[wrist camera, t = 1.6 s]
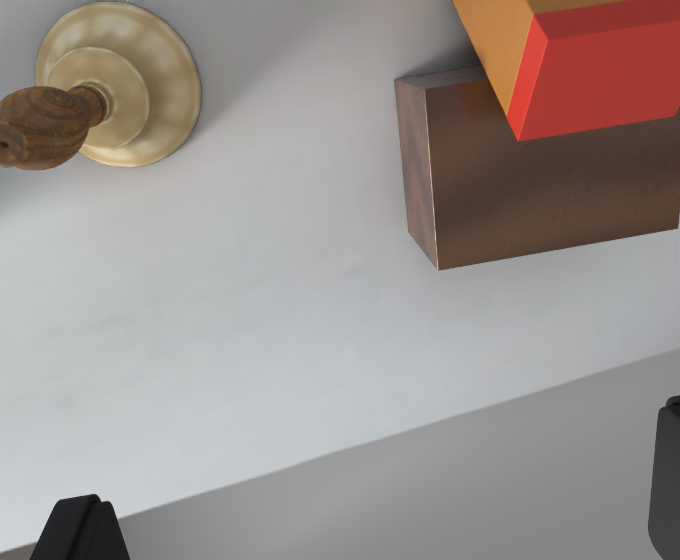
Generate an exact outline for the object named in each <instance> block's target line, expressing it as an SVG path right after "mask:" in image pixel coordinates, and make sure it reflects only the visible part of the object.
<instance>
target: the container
mask: <svg viewBox="0 0 680 560" xmlns="http://www.w3.org/2000/svg"><path fill="white" fill-rule="evenodd" d="M452 1H453V3H454V6H455V8H456V10H457V12H458V14H459V16H460V18H461V20H462V23H463V25H464V27H465V29H466V31H467V33H468V35H469V38H470V40H471V42H472V44H473V46H474V48H475V50H476V53H477V55H478V57H479V59H480V61H481V63H482V65H483V68H484V70H485V72H486V74H487V76H488V78H489V80H490V82H491V85H492V87H493V89H494V91H495V93H496V95H497V97H498V100H499V102H500V104H501V106H502V108H503V110H504V112H505V115H506V116H507V120H508V122H509V124H510V126H511V128H512V130H513V133H514V135H515V137H516V139H517V141H524V140H530V139H537V138H543V137H549V136H555V135H561V134H567V133H574V132H580V131H586V130H592V129H598V128H605V127H611V126H617V125H623V124H629V123H635V122H642V121H648V120H654V119H660V118H666V117H672V116H675V114H676V112H677V110H678V109H679V107H680V0H452Z"/></svg>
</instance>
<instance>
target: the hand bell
mask: <svg viewBox="0 0 680 560" xmlns="http://www.w3.org/2000/svg"><path fill="white" fill-rule="evenodd" d="M35 84H36V86H35V87H30V88H25V89H22V90H18V91H16V92H14V93H12V94H10V95H8V96H6V97H5V98H4V99H3V100H1V102H0V166H2V167H16V168H19V169H23V170H46V169H50V168H54V167H56V166H58V165H61V164H62V163H64V162H66V161H67V160H69V159H70V158H72V157H73V156H74V155H75V154H76V153H77V152H79V153H81V154H82V155H84V156H86V157H88V158H90V159H92V160H94V161H97V162H100V163H103V164H107V165H111V166H115V167H140V166H145V165H149V164H153V163H156V162H158V161H160V160H162V159H165V158H166V157H168V156H169V155H171V154H172V153H174V152H175V151H176V150H177V149H178V148H179V147H180V146H181V145H182V144H183V143H184V142H185V141H186V140H187V138H188V137H189V135H190V134H191V132H192V130H193V128H194V126H195V124H196V122H197V119H198V115H199V111H200V105H201V83H200V78H199V73H198V70H197V66H196V64H195V61H194V59H193V57H192V54H191V52H190V51H189V49H188V47H187V46H186V44H185V43H184V41H183V40H182V39H181V37H180V36H179V35H178V34H177V33H176V31H175V30H174V29H173V28H172V27H170V26H169V25H168V24H167V23H166V22H164V21H163V20H162V19H160V18H159V17H157V16H156V15H154V14H152V13H150V12H149V11H147V10H145V9H143V8H140V7H137V6H134V5H131V4H128V3H122V2H115V1H101V2H94V3H89V4H86V5H82V6H79V7H77V8H75V9H73V10H71V11H69V12H68V13H66V14H65V15H63V16H62V17H61V18H60V19H59V20H57V21H56V22H55V23H54V24H53V26H52V27H51V28H50V29H49V31H48V32H47V34H46V35H45V37H44V39H43V41H42V42H41V45H40V47H39V50H38V54H37V58H36V64H35Z"/></svg>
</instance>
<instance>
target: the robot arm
mask: <svg viewBox="0 0 680 560" xmlns="http://www.w3.org/2000/svg"><path fill="white" fill-rule="evenodd" d="M648 532H649V536H650V539H651V542H652V544H653V546H654V548H655V549H656V551H657V552H658V553H659V555H660V556H661V557H662V559H663V560H680V395H679V396H674V397H671V398H669V399H668V401H667V402H666V406H665V407H663V408H661V409H660V410H659V413H658V421H657V432H656V443H655V454H654V465H653V476H652V489H651V499H650V511H649V521H648ZM30 560H130V558H129V555H128V552H127V549H126V545H125V542H124V539H123V536H122V533H121V530H120V527H119V524H118V521H117V518H116V515H115V512H114V508H113V506H112V504H111V503H110V501H105V502H101V500H100V498H99V497H98V496H97V495H96V494H91V495H85V496H79V497H73V498H67V499H62V500H59V501H58V502H57V503H56V504H55V506H54V508H53V510H52V512H51V514H50V517H49V519H48V521H47V523H46V525H45V527H44V530H43V532H42V534H41V536H40V538H39V540H38V543H37V545H36V547H35V549H34V551H33V553H32V556H31V558H30Z"/></svg>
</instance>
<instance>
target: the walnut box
mask: <svg viewBox="0 0 680 560" xmlns="http://www.w3.org/2000/svg"><path fill="white" fill-rule="evenodd" d="M394 82H395V92H396V103H397V114H398V124H399V135H400V146H401V156H402V167H403V178H404V188H405V199H406V210H407V220H408V231H409V233H410V235H411V236H412V237H413V238H414V240H415V241H416V242H417V244H418V245H419V246H420V248H421V249H422V250H423V252H424V253H425V254H426V255H427V257H428V258H429V259H430V261H431V262H432V263H433V265H434V266H435V267H436V269H437V270H444V269H450V268H456V267H461V266H467V265H473V264H478V263H484V262H490V261H496V260H501V259H507V258H513V257H518V256H524V255H530V254H536V253H541V252H547V251H553V250H559V249H564V248H570V247H576V246H581V245H587V244H593V243H599V242H604V241H610V240H616V239H621V238H627V237H633V236H639V235H644V234H650V233H656V232H661V231H667V230H673V229H678V224H679V212H680V107H679V109H678V110H677V112H676V114H675V116H672V117H666V118H660V119H654V120H648V121H642V122H635V123H629V124H623V125H617V126H611V127H605V128H598V129H592V130H586V131H580V132H574V133H567V134H561V135H555V136H549V137H543V138H537V139H530V140H524V141H517V139H516V137H515V135H514V133H513V130H512V128H511V126H510V124H509V122H508V120H507V116H506V115H505V112H504V110H503V108H502V106H501V104H500V102H499V100H498V97H497V95H496V93H495V91H494V89H493V87H492V85H491V82H490V80H489V78H488V76H487V74H486V72H485V70H484V68H483V65H482V66H475V67H468V68H462V69H455V70H449V71H442V72H436V73H429V74H423V75H416V76H409V77H403V78H396V79H395V80H394Z"/></svg>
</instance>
